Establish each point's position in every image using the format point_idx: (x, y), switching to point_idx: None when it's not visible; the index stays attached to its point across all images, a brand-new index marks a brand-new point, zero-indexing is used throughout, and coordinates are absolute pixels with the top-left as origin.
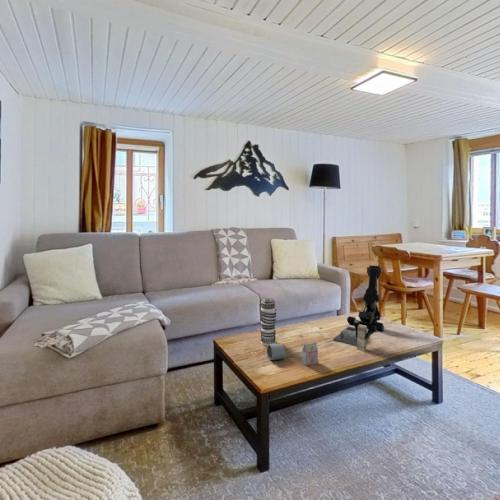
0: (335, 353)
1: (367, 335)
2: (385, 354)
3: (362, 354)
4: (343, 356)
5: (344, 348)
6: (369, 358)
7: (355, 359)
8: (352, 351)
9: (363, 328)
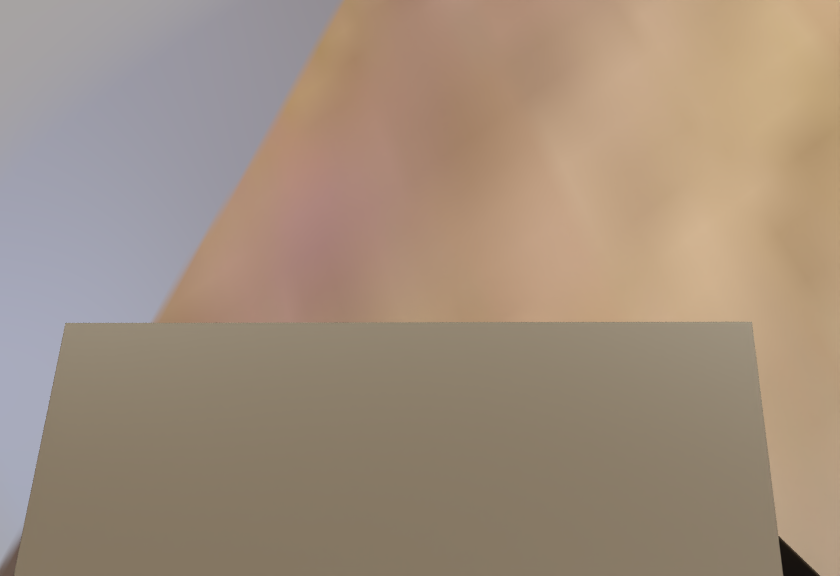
0: (815, 22)
1: None
2: (11, 555)
3: (387, 283)
4: (635, 10)
5: (810, 334)
6: (242, 205)
7: (426, 37)
8: (597, 294)
9: (178, 328)
